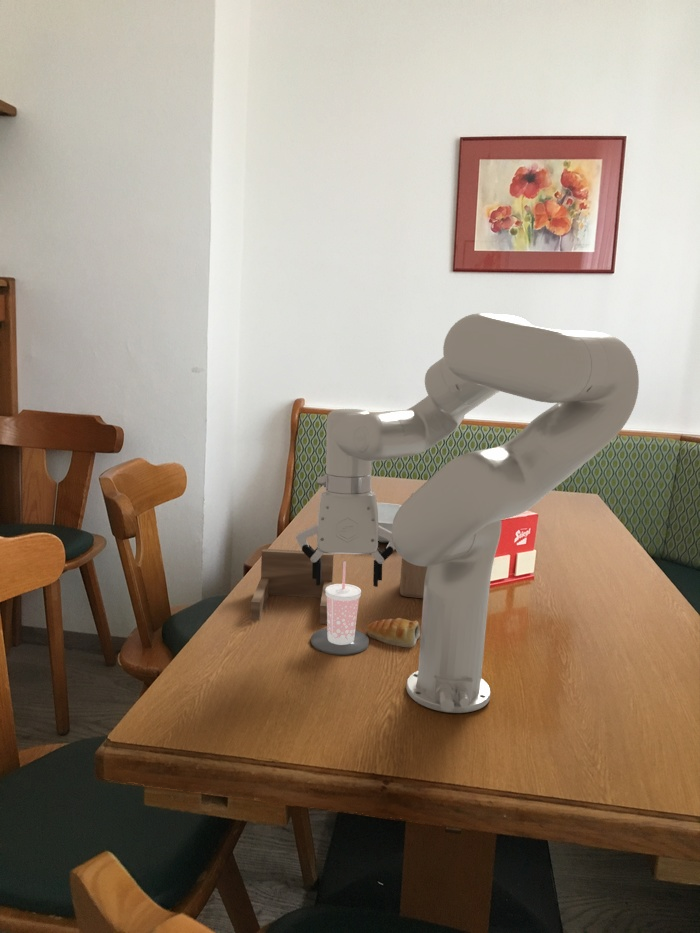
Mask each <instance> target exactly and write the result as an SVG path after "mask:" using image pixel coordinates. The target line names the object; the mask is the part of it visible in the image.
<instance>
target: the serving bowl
mask: <svg viewBox="0 0 700 933" xmlns="http://www.w3.org/2000/svg"><path fill="white" fill-rule="evenodd" d="M401 506H402V504H396V503H388V502H377V507H378V525H379V526H381V527H383V528H385V529H387V530H389V531H391V532H392V524H393V520H394V517H395V515H396V513H397V511H398V510H399V508H400V507H401ZM378 541H379V542H378V543H389V540H388V539H386V538H384V537H382V536H380V535H378Z"/></svg>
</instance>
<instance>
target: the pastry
mask: <svg viewBox="0 0 700 933" xmlns="http://www.w3.org/2000/svg"><path fill="white" fill-rule="evenodd" d="M365 629H366V633H367V635H368V636H369V637H370V638H372V639H374V640H378V641H379V642H381V643H383V644H387V645H392V646H396V647H403V648H413V647H415V645H416V644H417V640H418V639H419V638H420V637H421V626H420V624H419V622H418V620H414V621H412V620H408V619H406V618H401V617H397V618H395V619H394V618H388V619H385V618H384V619H381V620H379V619H378V620H373V621H371V623H369V624H367V625H366V627H365Z"/></svg>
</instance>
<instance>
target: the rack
mask: <svg viewBox="0 0 700 933" xmlns="http://www.w3.org/2000/svg"><path fill="white" fill-rule="evenodd" d="M320 559H322V567H321V584H320V585H319V586H318V585H316V579H312V561H311V559H310V558H309V557H308V556H307V555H306V554H305V553H304V552H303V551H302V550H292V549H291V550H289V549H275V548H262V550H261V563H260V564H261V566H260V568H261V570H260V579H259V582H258V584H257V586H256V589H255V590H254V594H253V597H252V598H251V600H250V620H251V621H261V620H260V619H261V617H262V615H263V612H264V608H265V605H266V603H267V600H268V597H269V596H283V597H284V596H286V597H306V598H320V605H319V624H320V625H327V596H326V594H325V593H326V591H325V589H326V587H328V586H330V585H333V577H334V576H333V575H334V571H333V570H334V554H330V553H324V554H323V555H322V556H321V557H320Z"/></svg>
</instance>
